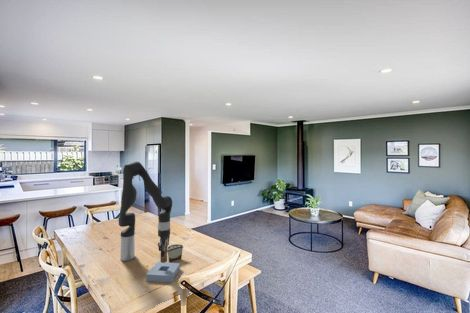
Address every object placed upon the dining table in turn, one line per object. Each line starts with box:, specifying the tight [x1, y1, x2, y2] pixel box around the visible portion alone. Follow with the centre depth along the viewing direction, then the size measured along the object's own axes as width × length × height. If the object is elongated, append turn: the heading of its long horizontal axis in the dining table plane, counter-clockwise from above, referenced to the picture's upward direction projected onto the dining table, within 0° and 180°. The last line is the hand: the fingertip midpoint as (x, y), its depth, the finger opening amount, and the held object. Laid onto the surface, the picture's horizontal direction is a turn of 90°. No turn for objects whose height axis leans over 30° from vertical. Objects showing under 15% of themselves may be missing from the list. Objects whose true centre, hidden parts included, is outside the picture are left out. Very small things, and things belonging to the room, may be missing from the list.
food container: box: [167, 243, 184, 263], centre depth 169 cm, size 12×6×10 cm, turn 131°
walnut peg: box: [160, 242, 168, 263], centre depth 148 cm, size 4×4×12 cm
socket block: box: [145, 261, 181, 283], centre depth 148 cm, size 16×16×4 cm
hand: (163, 254), depth 148 cm, fingers closed on walnut peg, 4 cm apart
